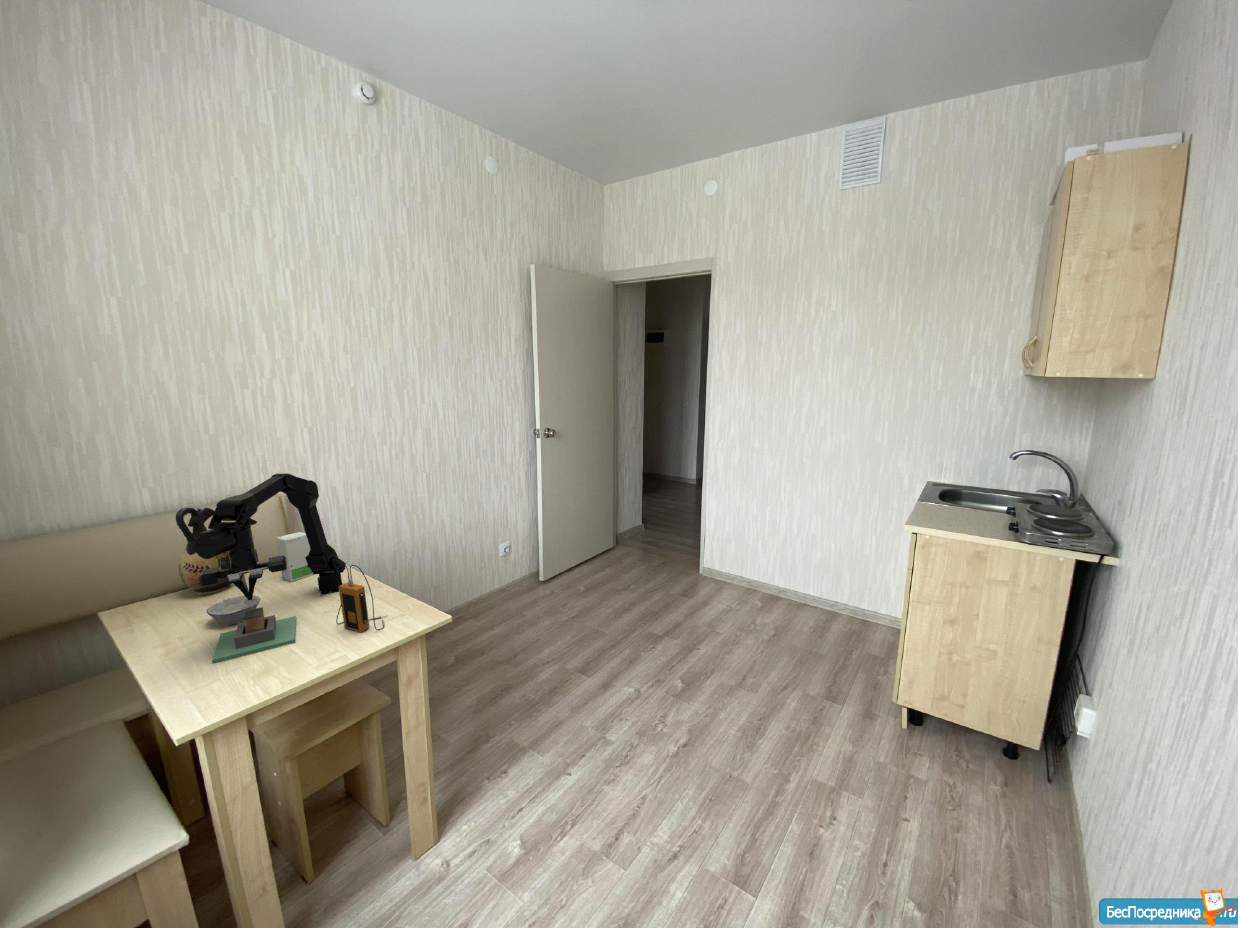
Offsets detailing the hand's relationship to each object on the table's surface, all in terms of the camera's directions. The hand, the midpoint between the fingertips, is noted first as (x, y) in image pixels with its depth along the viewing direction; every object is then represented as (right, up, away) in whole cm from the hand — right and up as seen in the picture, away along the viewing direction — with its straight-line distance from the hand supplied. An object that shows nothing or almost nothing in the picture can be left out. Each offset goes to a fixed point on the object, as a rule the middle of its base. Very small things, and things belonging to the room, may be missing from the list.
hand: (250, 599), depth 139 cm
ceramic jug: (-40, -7, +36) cm, 54 cm away
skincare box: (-15, -4, +46) cm, 48 cm away
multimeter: (+27, -10, +10) cm, 30 cm away
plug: (0, -11, +2) cm, 11 cm away
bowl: (-15, -10, +15) cm, 24 cm away
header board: (0, -12, +2) cm, 12 cm away
